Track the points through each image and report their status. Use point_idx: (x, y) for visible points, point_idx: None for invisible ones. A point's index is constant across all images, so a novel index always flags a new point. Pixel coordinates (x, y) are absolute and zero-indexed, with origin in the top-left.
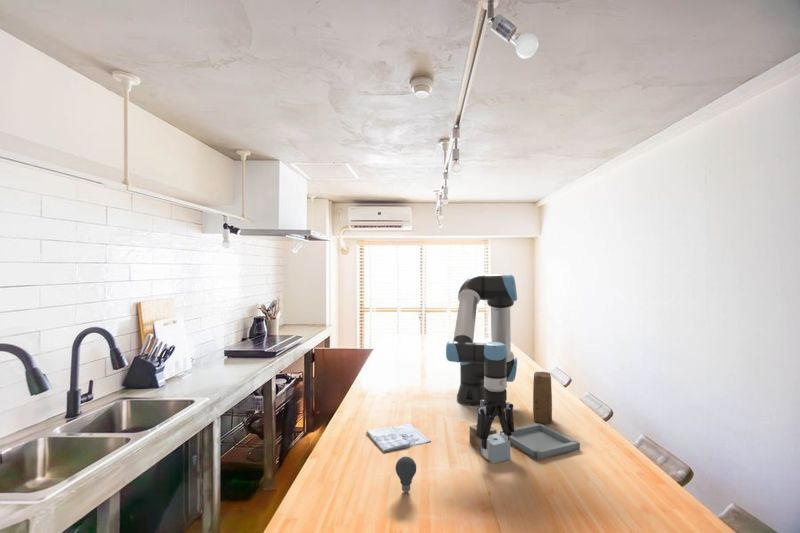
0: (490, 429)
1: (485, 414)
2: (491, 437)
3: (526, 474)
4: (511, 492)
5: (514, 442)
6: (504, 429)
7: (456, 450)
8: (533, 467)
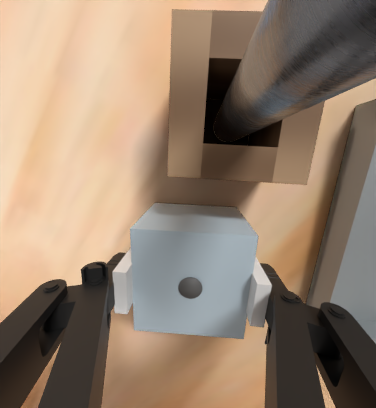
0: (272, 159)
1: (314, 100)
2: (184, 262)
3: (200, 356)
4: (105, 386)
5: (342, 219)
6: (270, 341)
7: (81, 122)
8: (251, 343)
